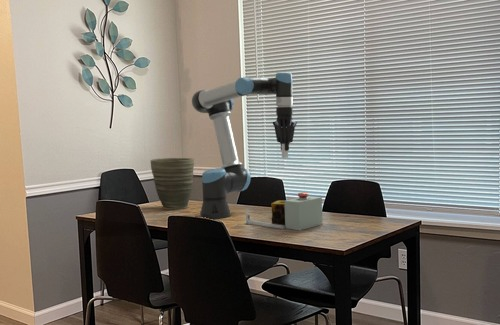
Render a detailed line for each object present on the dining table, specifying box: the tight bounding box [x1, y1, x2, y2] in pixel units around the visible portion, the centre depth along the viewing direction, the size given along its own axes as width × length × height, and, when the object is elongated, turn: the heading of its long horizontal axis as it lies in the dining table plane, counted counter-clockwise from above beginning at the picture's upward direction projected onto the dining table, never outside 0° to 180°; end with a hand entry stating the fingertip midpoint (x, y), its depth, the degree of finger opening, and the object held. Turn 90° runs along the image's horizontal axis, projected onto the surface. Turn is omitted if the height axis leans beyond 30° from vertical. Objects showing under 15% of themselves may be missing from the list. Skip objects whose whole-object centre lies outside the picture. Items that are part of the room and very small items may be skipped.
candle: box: [271, 200, 285, 225], centre depth 255 cm, size 10×10×10 cm
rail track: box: [245, 214, 286, 230], centre depth 258 cm, size 22×19×4 cm
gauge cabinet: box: [283, 195, 323, 231], centre depth 248 cm, size 9×16×12 cm, turn 136°
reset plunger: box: [297, 192, 309, 200], centre depth 247 cm, size 4×4×8 cm
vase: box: [150, 157, 195, 211], centre depth 314 cm, size 25×24×30 cm
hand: (284, 157), depth 262 cm, fingers closed
